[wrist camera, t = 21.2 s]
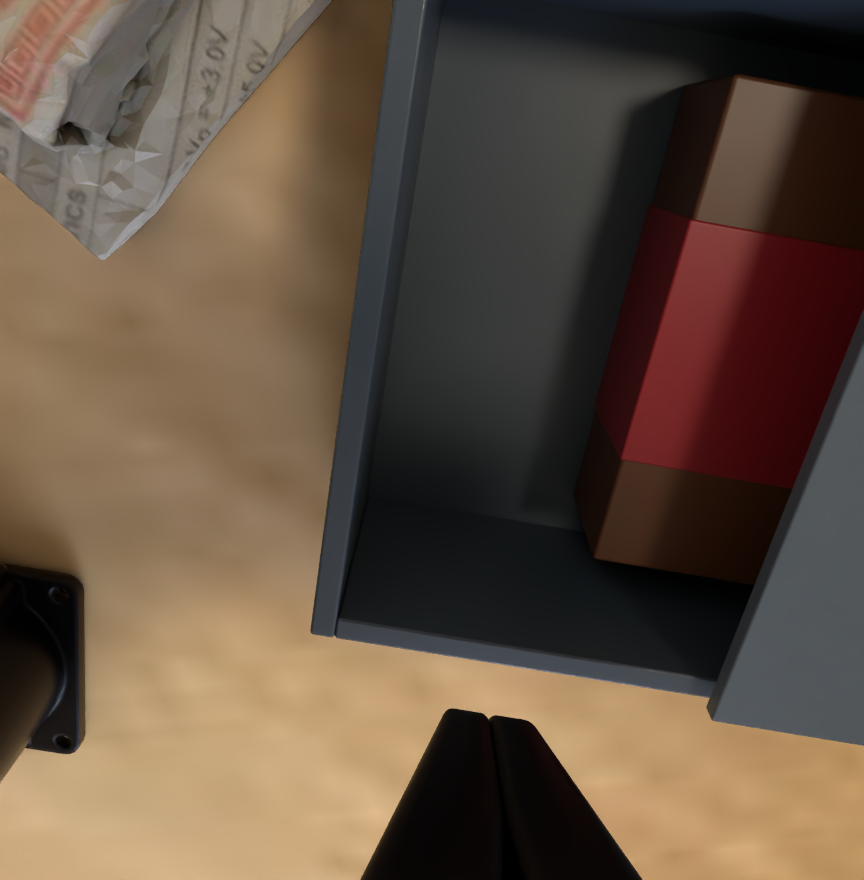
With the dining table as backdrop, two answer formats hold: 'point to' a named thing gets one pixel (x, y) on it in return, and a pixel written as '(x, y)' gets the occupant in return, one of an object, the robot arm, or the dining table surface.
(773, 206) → the chocolate bar
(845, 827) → the dining table surface
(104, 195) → the packaged product
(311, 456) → the dining table surface
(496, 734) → the robot arm
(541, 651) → the trash box
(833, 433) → the flap
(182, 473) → the dining table surface
